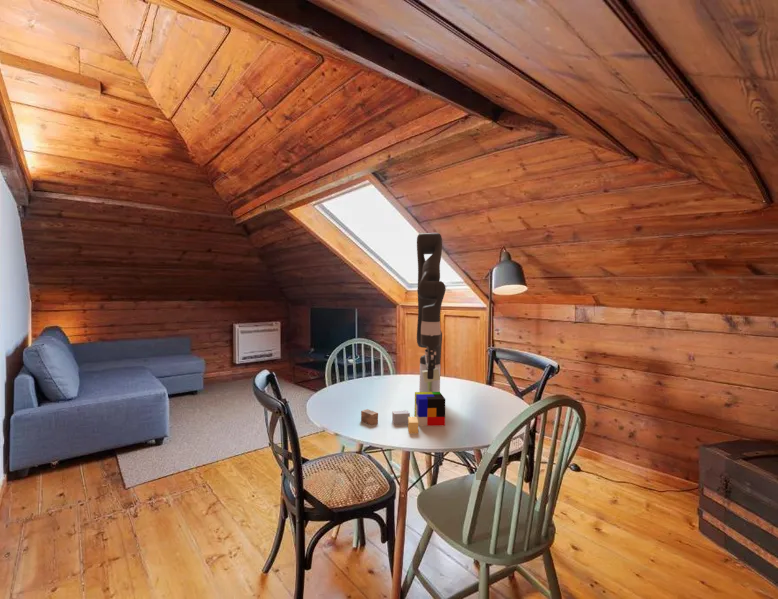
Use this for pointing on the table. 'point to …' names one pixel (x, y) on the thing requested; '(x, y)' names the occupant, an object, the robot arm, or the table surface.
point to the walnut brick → (369, 417)
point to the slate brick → (400, 417)
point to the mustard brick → (412, 425)
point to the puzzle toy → (429, 408)
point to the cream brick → (435, 375)
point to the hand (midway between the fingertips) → (429, 377)
